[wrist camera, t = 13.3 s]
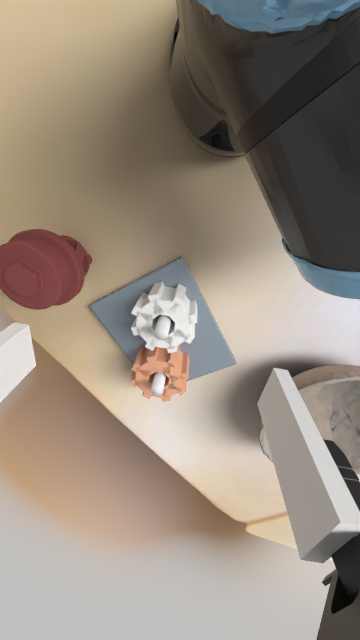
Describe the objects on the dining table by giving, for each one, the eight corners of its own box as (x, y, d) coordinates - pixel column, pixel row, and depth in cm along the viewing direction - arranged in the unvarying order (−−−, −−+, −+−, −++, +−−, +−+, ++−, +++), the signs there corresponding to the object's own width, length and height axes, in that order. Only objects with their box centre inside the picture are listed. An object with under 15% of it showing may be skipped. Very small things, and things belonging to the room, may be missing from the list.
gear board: (182, 256, 36) (176, 273, 28) (234, 359, 45) (243, 396, 36) (92, 302, 41) (65, 329, 33) (155, 387, 50) (146, 425, 41)
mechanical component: (113, 252, 37) (85, 297, 41) (56, 209, 34) (32, 261, 38) (77, 275, 26) (43, 333, 30) (-10, 214, 23) (-34, 286, 28)
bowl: (408, 405, 47) (456, 453, 38) (285, 448, 56) (301, 495, 47) (362, 310, 38) (410, 344, 29) (225, 379, 47) (231, 421, 38)
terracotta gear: (140, 334, 42) (132, 352, 37) (192, 343, 42) (192, 362, 37) (136, 374, 46) (129, 395, 42) (184, 383, 46) (182, 404, 42)
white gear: (172, 269, 36) (167, 281, 31) (208, 315, 39) (209, 332, 34) (127, 303, 39) (117, 318, 34) (164, 343, 42) (159, 362, 37)
